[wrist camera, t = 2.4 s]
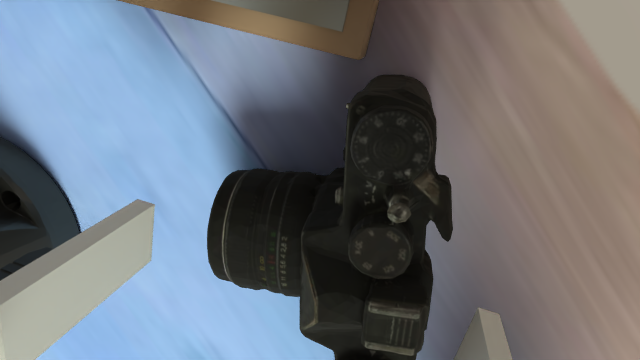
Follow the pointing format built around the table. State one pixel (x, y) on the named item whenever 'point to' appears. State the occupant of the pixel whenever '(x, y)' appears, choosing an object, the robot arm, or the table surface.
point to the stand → (286, 20)
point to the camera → (346, 228)
